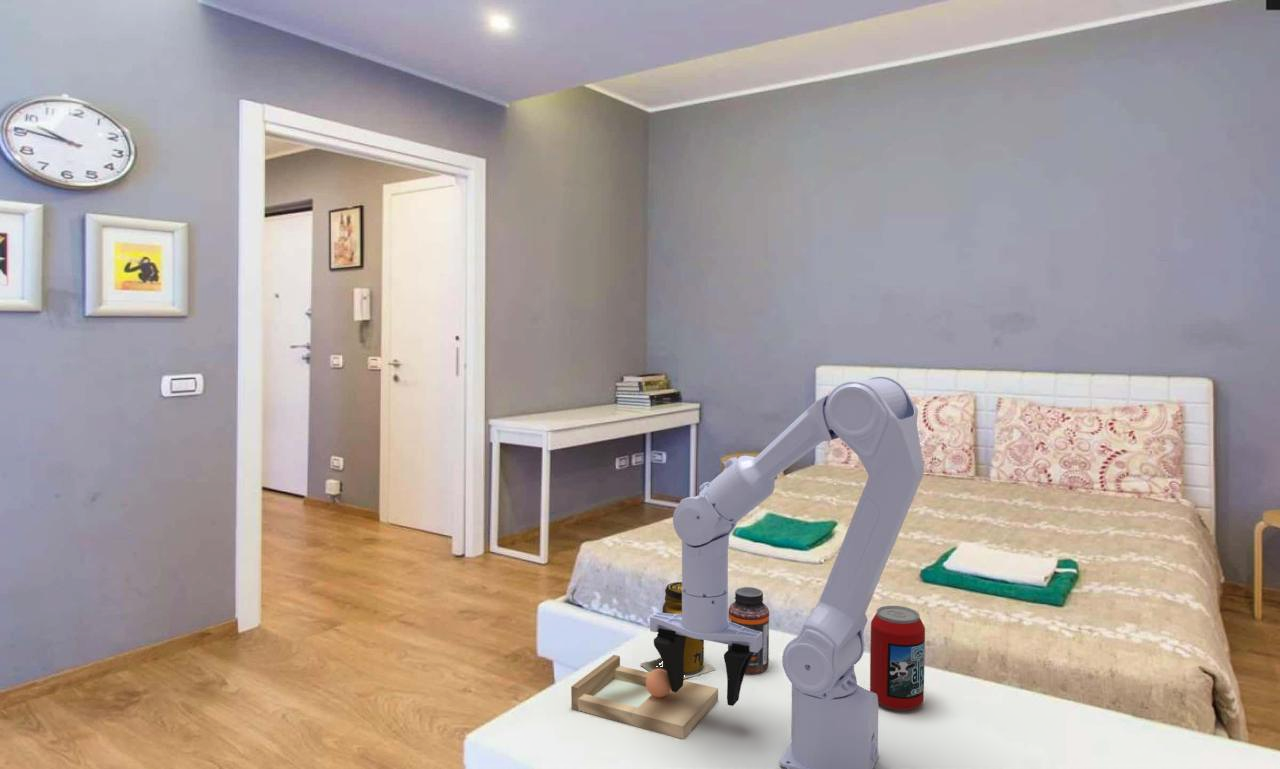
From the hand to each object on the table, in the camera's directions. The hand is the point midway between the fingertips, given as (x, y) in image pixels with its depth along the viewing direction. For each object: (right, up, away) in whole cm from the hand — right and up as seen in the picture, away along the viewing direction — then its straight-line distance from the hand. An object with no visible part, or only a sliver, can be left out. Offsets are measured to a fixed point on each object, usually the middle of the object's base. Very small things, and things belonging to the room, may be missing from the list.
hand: (704, 695), depth 96 cm
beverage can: (+26, -3, +5) cm, 26 cm away
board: (-7, -3, +4) cm, 9 cm away
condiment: (-3, -2, +15) cm, 16 cm away
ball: (-6, 0, +3) cm, 6 cm away
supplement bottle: (+8, -2, +15) cm, 17 cm away
